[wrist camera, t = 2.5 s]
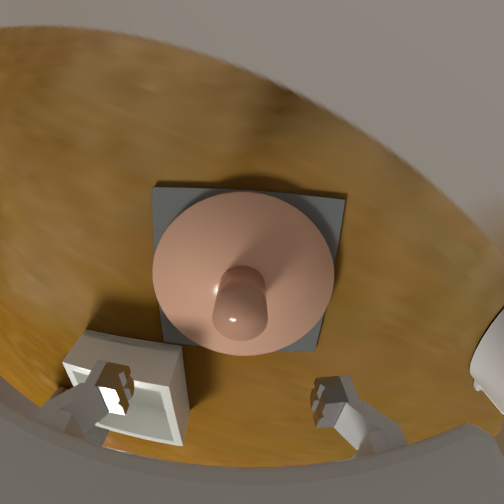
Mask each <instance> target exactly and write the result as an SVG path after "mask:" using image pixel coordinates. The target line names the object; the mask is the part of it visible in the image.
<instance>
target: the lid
mask: <svg viewBox="0 0 504 504" xmlns="http://www.w3.org/2000/svg"><path fill="white" fill-rule="evenodd" d="M153 284H154V290H155V293H156V296H157V299H158V302H159V304H160V306H161V308H162V310H163V311H164V313H165V315H166V316H167V318H168V319H169V320H170V321H171V323H172V324H173V325H174V326H175V327H176V328H177V329H178V330H179V331H180V332H181V333H182V334H184V335H185V336H186V337H188V338H189V339H190V340H192V341H194V342H195V343H197V344H199V345H201V346H203V347H205V348H208V349H210V350H213V351H216V352H220V353H225V354H230V355H243V356H249V355H260V354H265V353H270V352H273V351H276V350H279V349H282V348H284V347H286V346H288V345H290V344H292V343H294V342H296V341H297V340H299V339H300V338H301V337H303V336H304V335H305V334H307V333H308V332H309V331H310V330H311V329H312V328H313V327H314V326H315V325H316V323H317V322H318V321H319V320H320V318H321V317H322V315H323V313H324V312H325V310H326V308H327V306H328V304H329V301H330V298H331V295H332V291H333V285H334V266H333V260H332V256H331V253H330V250H329V247H328V245H327V243H326V241H325V239H324V237H323V236H322V234H321V233H320V231H319V230H318V228H317V227H316V226H315V224H314V223H313V222H312V221H311V220H310V219H309V218H308V217H307V216H306V215H305V214H304V213H303V212H301V211H300V210H299V209H298V208H296V207H295V206H293V205H291V204H290V203H288V202H286V201H284V200H282V199H280V198H277V197H275V196H272V195H268V194H264V193H260V192H252V191H232V192H225V193H220V194H216V195H213V196H210V197H207V198H205V199H203V200H200V201H198V202H197V203H195V204H193V205H192V206H190V207H189V208H187V209H186V210H185V211H184V212H182V213H181V214H180V215H179V216H178V217H177V218H176V219H175V220H174V221H173V222H172V223H171V224H170V226H169V227H168V228H167V230H166V231H165V233H164V234H163V236H162V237H161V240H160V242H159V244H158V246H157V249H156V252H155V256H154V261H153Z"/></svg>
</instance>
